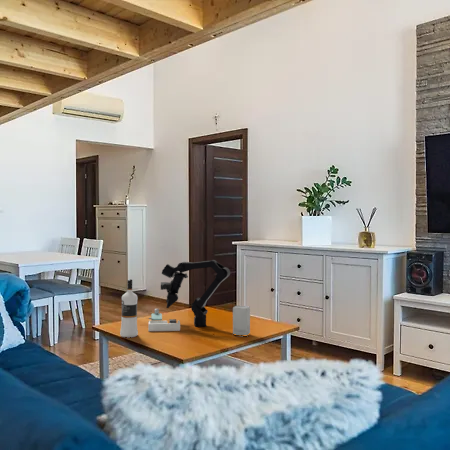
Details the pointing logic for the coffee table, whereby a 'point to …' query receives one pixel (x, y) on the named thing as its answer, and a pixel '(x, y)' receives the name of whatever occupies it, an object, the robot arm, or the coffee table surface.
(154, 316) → the cover
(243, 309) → the skincare box
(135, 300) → the vodka
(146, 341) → the coffee table surface
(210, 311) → the coffee table surface
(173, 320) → the block
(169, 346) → the coffee table surface
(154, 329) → the channel
